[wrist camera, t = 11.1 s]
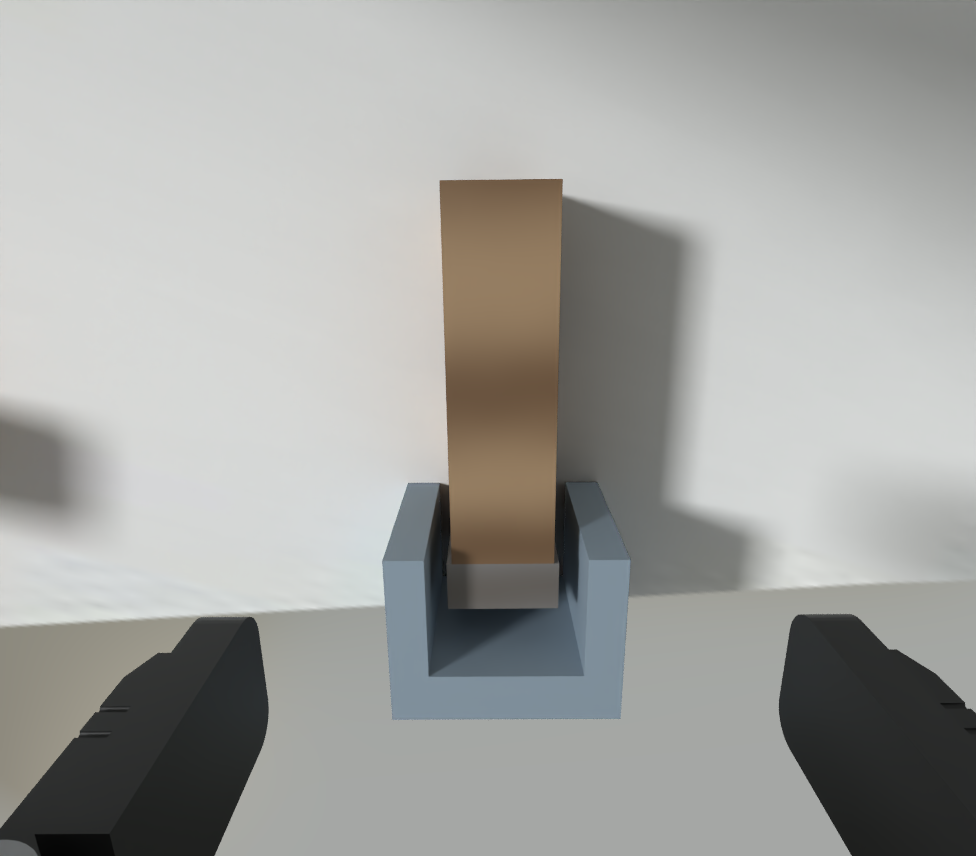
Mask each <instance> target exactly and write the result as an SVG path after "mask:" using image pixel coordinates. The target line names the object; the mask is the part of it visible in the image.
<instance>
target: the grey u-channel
mask: <svg viewBox="0 0 976 856" xmlns="http://www.w3.org/2000/svg"><path fill="white" fill-rule="evenodd" d="M382 564H383V579H384V595H385V610H386V625H387V641H388V657H389V673H390V689H391V705H392V719H393V720H397V719H398V720H402V719H403V720H406V719H407V720H408V719H620V717H621V701H622V686H623V671H624V656H625V640H626V624H627V609H628V594H629V579H630V564H631V559H630V557H629V555H628V552H627V550H626V548H625V545H624V543H623V541H622V538H621V536H620V534H619V531H618V529H617V527H616V525H615V522H614V520H613V518H612V515H611V513H610V511H609V508H608V506H607V504H606V501H605V499H604V497H603V494H602V492H601V490H600V487H599V485H598V483H597V482H566V488H565V521H564V554H563V576H559V591H558V608H521V609H448V595H447V576H443V573H442V543H441V512H440V483H408V485H407V488H406V491H405V494H404V497H403V500H402V503H401V506H400V509H399V512H398V515H397V518H396V521H395V524H394V527H393V530H392V534H391V537H390V540H389V543H388V546H387V549H386V552H385V555H384V558H383V561H382Z"/></svg>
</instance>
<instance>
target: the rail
mask: <svg viewBox="0 0 976 856" xmlns="http://www.w3.org/2000/svg"><path fill="white" fill-rule="evenodd" d="M562 184H563V179H522V180H440V209H441V241H442V273H443V305H444V337H445V369H446V401H447V434H448V466H449V498H450V530H451V534H450V542H449V549H448V557H447V564H446V566H447V595H448V609H521V608H558V591H559V560H558V555H557V551H556V546H555V499H556V454H557V409H558V364H559V319H560V274H561V229H562Z"/></svg>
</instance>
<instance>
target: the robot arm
mask: <svg viewBox="0 0 976 856" xmlns="http://www.w3.org/2000/svg"><path fill="white" fill-rule="evenodd" d="M779 715H780V722H781V727H782V730H783V734H784V737H785V740H786V742H787V744H788V746H789V748H790V750H791V752H792V754H793V755H794V757H795V759H796V761H797V762H798V764H799V766H800V767H801V769H802V771H803V773H804V774H805V776H806V778H807V779H808V781H809V783H810V784H811V786H812V788H813V790H814V792H815V793H816V795H817V797H818V798H819V800H820V802H821V803H822V805H823V807H824V809H825V810H826V812H827V814H828V816H829V817H830V819H831V821H832V822H833V824H834V826H835V828H836V829H837V831H838V833H839V834H840V836H841V838H842V840H843V841H844V843H845V845H846V846H847V848H848V850H849V852H850V853H851V855H852V856H976V713H975V712H974V711H973V710H972V709H967V708H966V707H965V702H964V701H963V700H962V699H961V698H960V697H959V696H958V695H957V694H956V693H955V692H954V691H953V690H951V688H949V686H947V685H946V684H945V683H944V682H943V681H942V680H941V679H940V678H939V677H938V676H937V675H936V674H935V673H934V672H932V671H930V670H929V669H927V668H925V667H924V666H922V665H920V664H919V663H917V662H916V661H914V660H912V659H911V658H909V657H908V656H906V655H904V654H903V653H901V652H900V651H898V650H889V649H888V648H887V647H886V646H885V645H884V644H883V643H882V642H881V641H880V640H879V639H878V638H877V637H876V636H875V635H874V634H873V633H872V632H871V631H870V629H869V628H868V627H867V626H866V625H865V624H864V623H863V622H862V621H861V620H860V619H859V618H858V617H856V616H854V615H851V614H813V615H812V614H809V615H798V616H796V617H795V618H794V620H793V621H792V624H791V628H790V633H789V640H788V646H787V653H786V659H785V666H784V672H783V678H782V685H781V691H780V698H779ZM267 724H268V696H267V690H266V682H265V674H264V667H263V660H262V653H261V645H260V638H259V631H258V626H257V623H256V621H255V620H254V618H252V617H201V618H199V619H197V620H196V621H195V622H194V623H193V624H192V626H191V627H190V628H189V630H188V631H187V632H186V634H185V635H184V636H183V638H182V639H181V640H180V642H179V643H178V644H177V646H176V647H175V648H174V650H173V651H172V652H171V653H157V654H156V655H155V656H153V657H152V658H151V659H149V660H148V661H146V662H145V663H143V664H142V665H141V666H139V667H138V668H136V669H135V670H134V671H132V672H131V673H129V674H128V675H127V676H125V677H124V678H123V679H122V680H121V682H120V683H119V684H118V685H117V686H116V688H115V689H114V690H113V691H112V693H111V694H110V695H109V696H108V697H107V699H106V700H105V701H104V702H103V704H102V705H101V706H100V711H99V712H95V713H94V715H93V716H92V717H91V718H90V719H89V721H88V722H87V723H86V724H85V726H84V727H83V728H82V729H81V730H80V735H79V737H78V738H74V739H73V740H72V741H71V743H70V744H69V745H68V746H67V748H66V749H65V750H64V751H63V753H62V754H61V755H60V756H59V757H58V759H57V760H56V761H55V762H54V763H53V765H52V766H51V767H50V768H49V770H48V771H47V772H46V773H45V775H44V776H43V777H42V778H41V779H40V781H39V782H38V783H37V784H36V786H35V787H34V788H33V789H32V790H31V792H30V793H29V794H28V795H27V797H26V798H25V799H24V800H23V801H22V803H21V804H20V805H19V806H18V808H17V809H16V810H15V811H14V812H13V814H12V815H11V816H10V817H9V818H8V820H7V821H6V822H5V823H4V825H3V826H2V827H1V828H0V856H214V855H215V853H216V851H217V849H218V846H219V844H220V842H221V840H222V837H223V835H224V833H225V830H226V828H227V826H228V823H229V821H230V819H231V817H232V814H233V812H234V810H235V808H236V805H237V803H238V801H239V799H240V796H241V794H242V792H243V790H244V787H245V785H246V783H247V780H248V778H249V776H250V773H251V771H252V769H253V767H254V764H255V762H256V760H257V757H258V755H259V753H260V751H261V748H262V746H263V742H264V738H265V735H266V730H267Z"/></svg>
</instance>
